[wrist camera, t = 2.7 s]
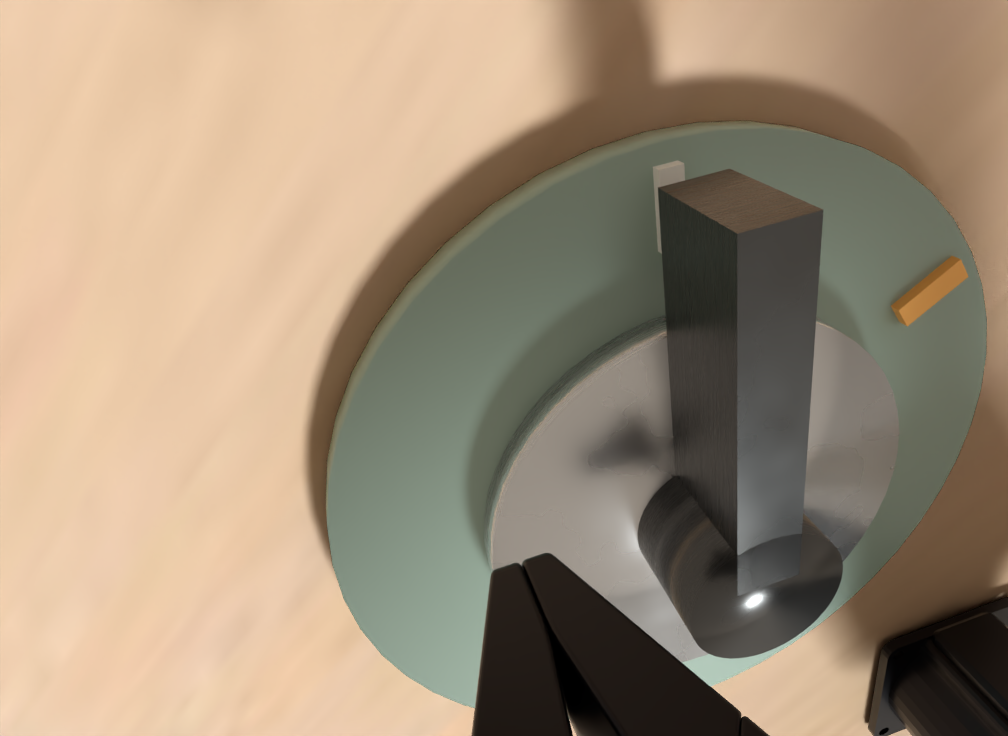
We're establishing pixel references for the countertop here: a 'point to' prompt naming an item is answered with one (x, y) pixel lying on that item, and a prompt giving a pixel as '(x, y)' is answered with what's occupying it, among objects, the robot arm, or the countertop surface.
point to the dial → (709, 438)
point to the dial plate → (595, 321)
